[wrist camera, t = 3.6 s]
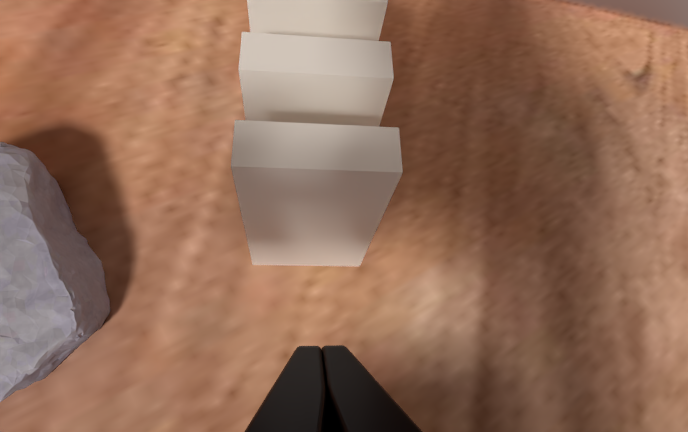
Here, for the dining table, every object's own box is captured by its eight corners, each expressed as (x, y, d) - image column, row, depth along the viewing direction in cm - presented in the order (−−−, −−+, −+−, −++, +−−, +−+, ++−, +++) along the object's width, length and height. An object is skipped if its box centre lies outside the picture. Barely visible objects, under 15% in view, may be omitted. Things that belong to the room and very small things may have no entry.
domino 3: (354, 141, 25) (387, 2, 16) (260, 137, 24) (246, -9, 16) (353, 117, 25) (385, -29, 17) (262, 112, 25) (249, -40, 17)
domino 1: (359, 266, 22) (402, 172, 14) (252, 264, 21) (230, 166, 13) (358, 235, 22) (398, 127, 14) (254, 232, 22) (235, 120, 14)
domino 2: (357, 199, 23) (393, 78, 15) (256, 196, 23) (238, 69, 14) (355, 172, 24) (390, 41, 16) (258, 168, 23) (241, 31, 15)
